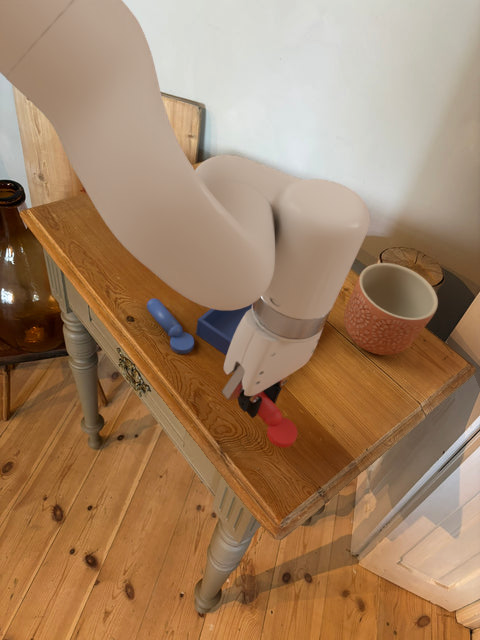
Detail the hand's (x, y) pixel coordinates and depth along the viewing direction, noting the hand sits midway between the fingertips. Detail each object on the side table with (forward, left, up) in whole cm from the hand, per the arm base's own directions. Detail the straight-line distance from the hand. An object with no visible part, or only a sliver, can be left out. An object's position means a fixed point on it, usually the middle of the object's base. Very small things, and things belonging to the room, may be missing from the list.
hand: (256, 402), depth 59 cm
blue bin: (-9, +15, -6) cm, 19 cm away
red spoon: (+2, 0, 0) cm, 2 cm away
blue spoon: (-19, +5, -6) cm, 20 cm away
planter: (+6, +28, -6) cm, 29 cm away
